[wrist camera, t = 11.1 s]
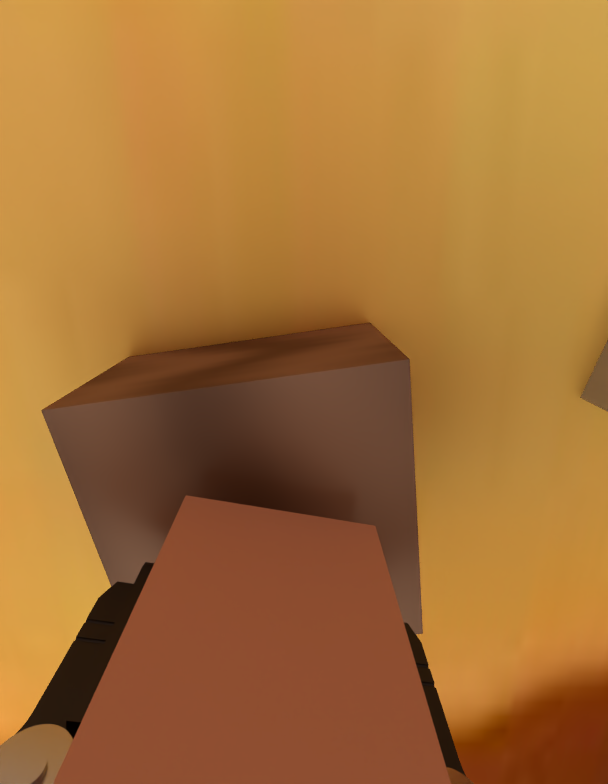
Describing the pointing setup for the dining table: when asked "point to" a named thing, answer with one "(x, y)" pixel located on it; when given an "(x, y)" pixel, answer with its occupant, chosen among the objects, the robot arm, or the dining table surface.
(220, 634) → the terracotta block
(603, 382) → the sage block
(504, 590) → the dining table surface
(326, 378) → the walnut block
